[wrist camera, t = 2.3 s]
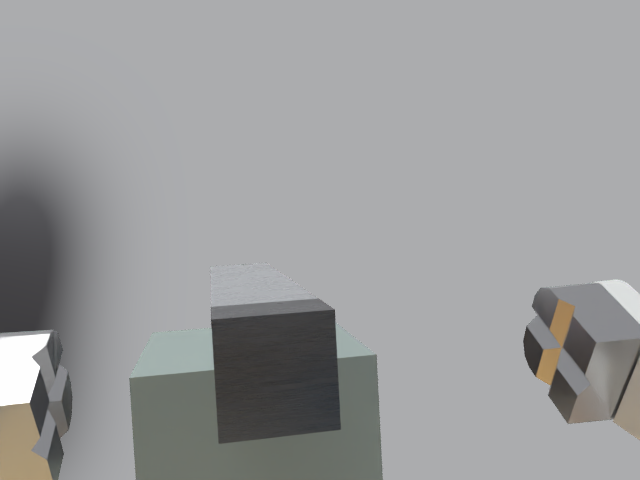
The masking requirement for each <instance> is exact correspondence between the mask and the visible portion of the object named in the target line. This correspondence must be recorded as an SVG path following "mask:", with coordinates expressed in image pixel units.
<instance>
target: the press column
mask: <svg viewBox="0 0 640 480" xmlns="http://www.w3.org/2000/svg"><path fill="white" fill-rule="evenodd" d="M335 324H336V343H337V362H338V382H339V401H340V420H341V430H335V431H327V432H318V433H309V434H301V435H292V436H283V437H275V438H266V439H258V440H249V441H240V442H232V443H223V444H219V443H218V426H217V409H216V392H215V376H214V359H213V342H212V328H204V329H192V330H181V331H168V332H156V333H152V335H151V337H150V339H149V341H148V343H147V345H146V347H145V349H144V351H143V353H142V355H141V356H140V358H139V361H138V362H137V364H136V366H135V368H134V370H133V372H132V374H131V376H130V378H129V379H130V393H131V394H130V395H131V410H132V426H133V440H134V457H135V471H136V480H383V478H382V457H381V436H380V417H379V395H378V376H377V355H376V354H375V353H374V352H372V351H371V350H370V349H369V348H368V347H366V346H365V345H364V344H362V343H361V342H360V341H358V340H357V339H356V338H355V337H354V336H352V335H351V334H350V333H348V332H347V331H346V330H345V329H343V328H342V327H341V326H340V325H338V324H337V323H336V322H335Z"/></svg>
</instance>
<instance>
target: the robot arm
mask: <svg viewBox="0 0 640 480" xmlns="http://www.w3.org/2000/svg"><path fill="white" fill-rule="evenodd" d="M532 307H533V309H534V311H535V313H536V314H537V316H536V317H535V318H534V319H533V320H532V321H531V322H530V323H529V324H528V325H527V327H526V331H525V336H524V341H523V342H524V351H525V357H526V360H527V362H528V365H529V367H530V369H531V370H532V372H533V373H534V375H535V376H536V377H537V378H539V379H540V380H542V381H544V382H545V383H547V384H549V385H550V388H549V394H548V396H549V397H550V399H551V400H552V401H553V403H554V404H555V406H556V407H557V409H558V410H559V412H560V413H561V414H562V416H563V418H564V419H565V420H566V422H567V423H568V424H572V423H582V422H592V421H602V420H612V419H614V421H613V422H614V423H616V424H617V425H619V426H620V427H621V428H623V429H624V430H626V431H627V432H629V433H630V434H631V435H633V436H634V437H636V438H637V439H639V440H640V295H639V294H638V293H637V292H636V291H635V290H634V289H633V288H632V287H631V286H630V285H629V284H628V283H626V282H624V281H621V280H619V279H616V280H608V281H599V282H592V283H588V284H577V285H566V286H555V287H545V288H540V289H539V291H538V292H537V293H536V295H535V297H534V301H533V304H532ZM62 351H63V350H62V345H61V342H60V338H59V335H58V333H57V332H56V331H55V330H42V331H27V332H12V333H0V480H58V477H59V473H60V468H61V464H62V459H63V455H64V453H63V449H62V445H61V441H60V438H61V437H62V436H63V435H64V434H65V433H66V432H67V431H68V430H69V425H70V420H71V415H72V414H71V413H72V391H71V382H70V378H69V374H68V371H67V370H66V369H65V368H63V367H62V366H60V365H59V363H60V359H61V354H62Z"/></svg>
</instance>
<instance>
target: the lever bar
mask: <svg viewBox="0 0 640 480" xmlns="http://www.w3.org/2000/svg"><path fill="white" fill-rule="evenodd" d="M210 273H211V274H210V280H211V325H212V342H213V359H214V376H215V392H216V409H217V426H218V443H219V444H223V443H232V442H240V441H249V440H258V439H266V438H275V437H283V436H292V435H301V434H309V433H318V432H327V431H335V430H341V420H340V401H339V382H338V362H337V343H336V324H335V310H334V309H333V308H332V307H330V306H329V305H327V304H326V303H324V302H323V301H322V300H320V299H319V298H317V297H316V296H314V295H312V294H311V293H310V292H308V291H307V290H305V289H304V288H303V287H301V286H300V285H298V284H297V283H295V282H294V281H293V280H291V279H290V278H288V277H287V276H285V275H283V274H282V273H281V272H279V271H278V270H277V269H275V268H274V267H272V266H271V265H269V264H268V263H258V264H242V265H227V266H212V267H210Z"/></svg>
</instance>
